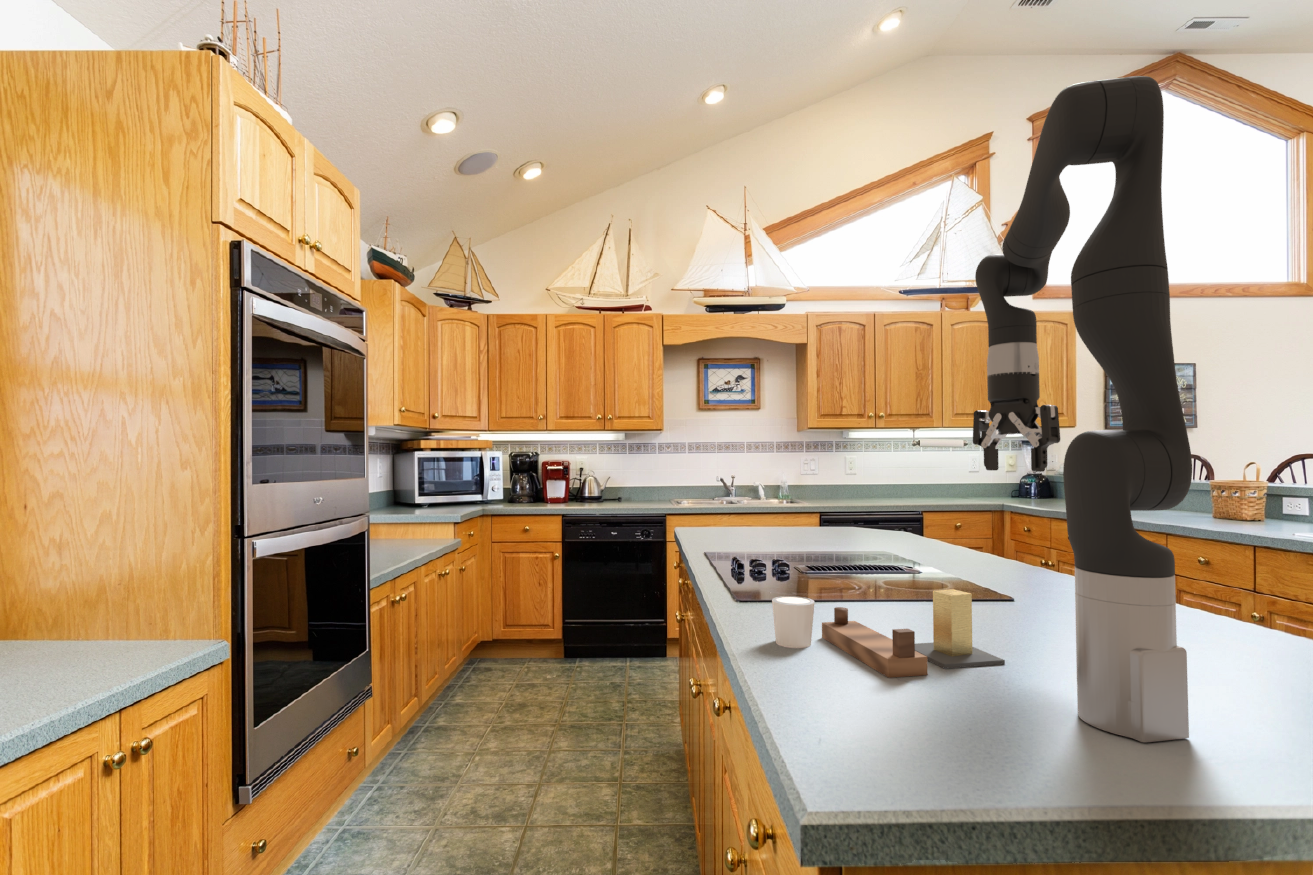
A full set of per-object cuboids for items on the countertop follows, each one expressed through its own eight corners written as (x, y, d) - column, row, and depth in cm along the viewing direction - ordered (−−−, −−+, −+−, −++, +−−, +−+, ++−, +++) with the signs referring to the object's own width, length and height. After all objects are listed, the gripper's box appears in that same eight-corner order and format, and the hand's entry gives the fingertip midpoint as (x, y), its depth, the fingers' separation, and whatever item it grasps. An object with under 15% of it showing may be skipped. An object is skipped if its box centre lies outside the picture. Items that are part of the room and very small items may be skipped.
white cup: (819, 649, 99) (819, 604, 100) (775, 649, 100) (775, 604, 100) (809, 637, 106) (809, 595, 106) (768, 636, 106) (768, 595, 107)
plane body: (927, 674, 88) (927, 631, 88) (888, 677, 86) (887, 633, 87) (854, 635, 107) (854, 599, 108) (821, 637, 106) (821, 601, 106)
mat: (1004, 664, 92) (1004, 660, 92) (943, 668, 90) (943, 664, 90) (959, 644, 102) (959, 640, 102) (903, 648, 100) (903, 644, 100)
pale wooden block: (972, 653, 95) (971, 593, 96) (952, 656, 94) (951, 595, 94) (953, 647, 99) (952, 589, 99) (933, 649, 97) (932, 590, 98)
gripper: (960, 377, 110) (962, 470, 109) (1036, 365, 97) (1038, 471, 96) (992, 379, 113) (993, 470, 112) (1070, 368, 99) (1072, 471, 99)
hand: (1014, 470), depth 104 cm, fingers open, 8 cm apart
